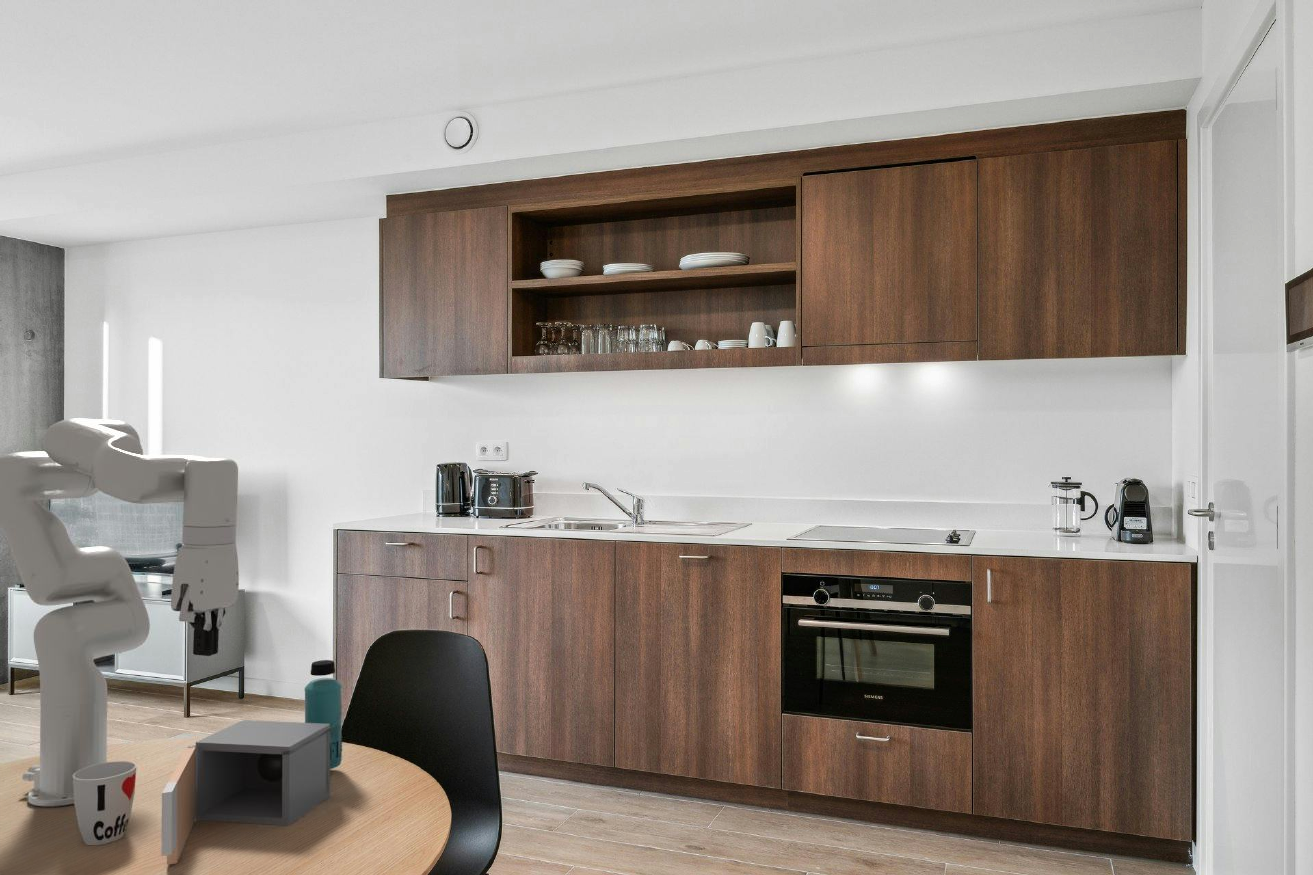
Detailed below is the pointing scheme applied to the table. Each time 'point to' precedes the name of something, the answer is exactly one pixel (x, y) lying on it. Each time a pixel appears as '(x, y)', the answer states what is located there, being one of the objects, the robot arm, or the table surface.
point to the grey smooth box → (262, 772)
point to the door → (179, 806)
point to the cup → (104, 800)
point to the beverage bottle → (325, 706)
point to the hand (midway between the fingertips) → (205, 653)
